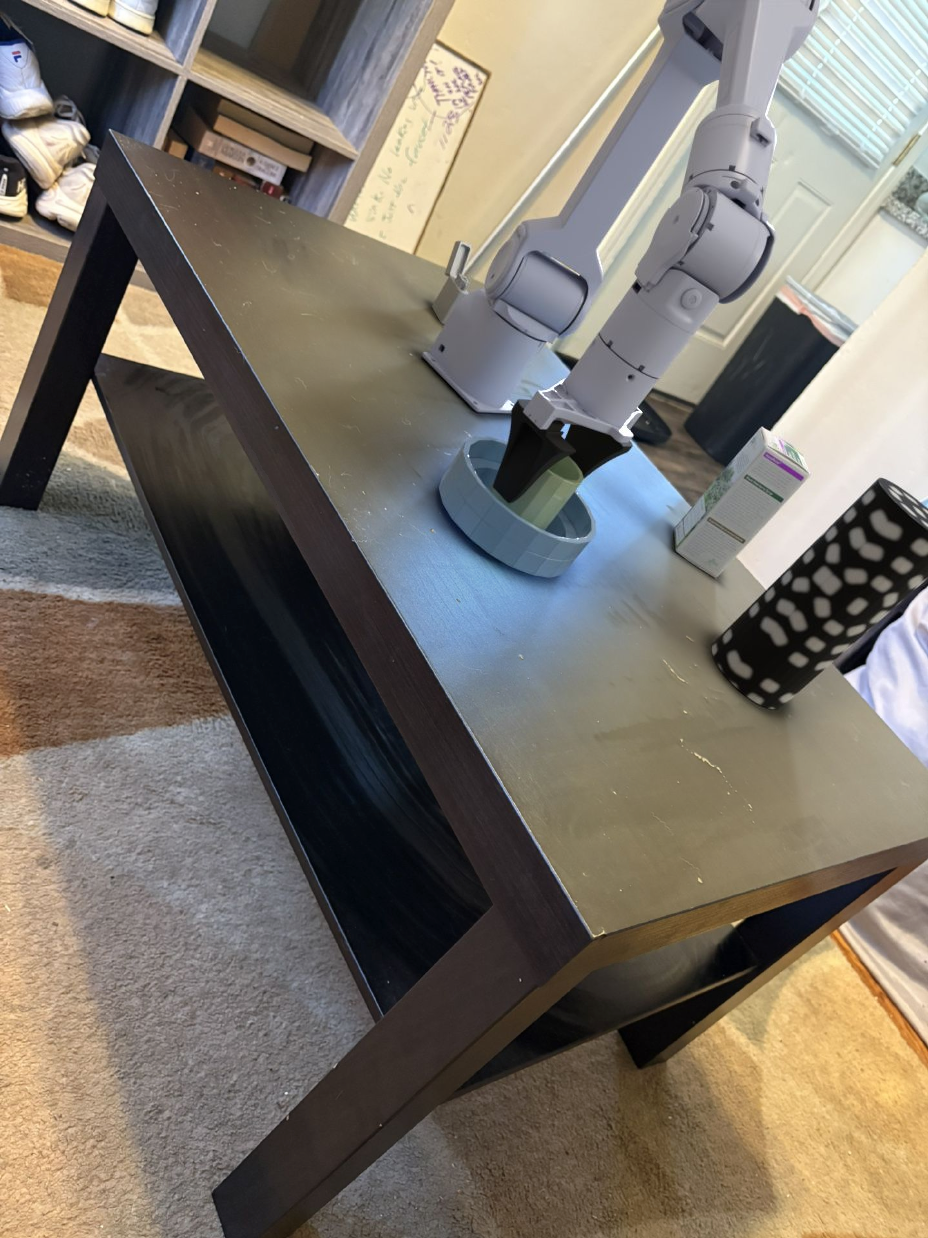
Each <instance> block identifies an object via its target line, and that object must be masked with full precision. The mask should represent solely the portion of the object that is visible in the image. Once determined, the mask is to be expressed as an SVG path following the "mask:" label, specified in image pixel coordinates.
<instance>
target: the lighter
mask: <svg viewBox="0 0 928 1238" xmlns="http://www.w3.org/2000/svg"><path fill="white" fill-rule="evenodd" d="M472 251H473V246H472V245H471V244H470V243H467V242H465V241H464V240H456V241H455V242H454V245H453V247H452V250H451V254H450V256H449V259H448V263H447V265H446V268H445V272H444V275H445V276H446V277H448V278H447V280H446V281H445V283H444V285H443V287H442V288H441V290H440V292H439V293H438V295H437V297H436V299H435V301H434V302H433V303H432V306H431V308H432V309H433V311H434V313H435V315H436V317H437V319H438V320H439V323H441V324H442V325H445V323H446V321H447V320H448V318H449V316H450V315H451V313H452V311H453V310H454V308H455V307H456V305H457V304H458V303H459V302H460V301H461V299H462V298H464V297H465V296H466V295H467V294H468V293H469V291H468V288H469V287H470V284H471V283H470V281H469V280H468V278H467V277H466V276H465V275H464V274H465V271H466V267H467V265H468V262H469V259H470V256H471V253H472Z"/></svg>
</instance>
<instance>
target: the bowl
mask: <svg viewBox="0 0 928 1238" xmlns="http://www.w3.org/2000/svg"><path fill="white" fill-rule="evenodd" d="M507 443H508V441H506V440H502V439H499V438H496V437H492V436H473V437H472V438H469V439H468V440H466V441H464V443H463V445H462V447H461V448H460V450H459V451H458V453H457V454H456V455H455V457H454V459H453V460H452V461H451V463H450V465H449V466H448V467H447V469H446V471H445V472H444V474H443V475H442V477H441V479H440V483H439V486H438V490H439V494H440V498H441V502H442V504H443V506H444V508H445V510H446V511H447V513H448V514H449V515H448V516H450V518H451V520H453V522H454V523H455V524H456V525H457V526H458V527H459V529H461V531H462V532H463V533H464V534H465V535H466V536H467V537H468V538H469V539H470V540H471V541H472V542H474V543H475V544H476V545H477V546H479V547H480V548H481V549H482V550H484V551H485V552H486V553H487V554H489V555H490V556H492V557H493V558H495V559H496V560H498V561H500V562H501V563H503V564H505V565H507V566H509V567H510V568H513V569H515V570H518V571H519V572H523V573H525V574H528V575H531V576H535V577H540V578H541V577H543V578H550V579H551V578H555V577H559V576H563V575H564V574H565V573H566V572H567V570H568V569H569V568H570V567H571V566H572V565H573V563H574V562H575V561H576V560H577V558H578V557H579V556H580V554H581V553H582V552H583V551H584V550H585V548H586V547H587V546H588V545H589V544H590V543H591V541H592V540H593V539H594V537H595V536H596V535H597V522H596V519H595V518H594V515H593V513H592V511H591V509H590V506H589V505H588V504H587V503H586V501H585V500H584V499H583V497H582V496H581V494H579V492H578V491H577V490H576V491H575V492H574V493H573V494H572V496H571V497H570V498H569V500H568V501H567V502H566V503H565V505H564V506H563V507H562V509H561V510H560V511H559V512H558V514H557V515H556V516H555V518H554V519H553V520H552V522H551V523H550V524H549V525H548V527H547V528H546V529H545V531H544V530H542V529H539V528H537V527H536V526H534V525H533V524H531V523H529V522H528V521H526V520H524V519H523V518H521V517H519V516H518V515H517V514H515V513H514V512H513V511H512V510H510V509H509V508H508V507H507V506H505V505H504V504H503V503H502V502H500V501H499V500H498V499H497V498H496V497H495V496H494V495H493V494H492V493H491V492H490V491H489V487H490V486H491V484H492V483H493V482H494V480H495V478H496V475H497V472H498V470H499V467H500V464H501V462H502V459H503V456H504V453H505V450H506V447H507Z"/></svg>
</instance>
